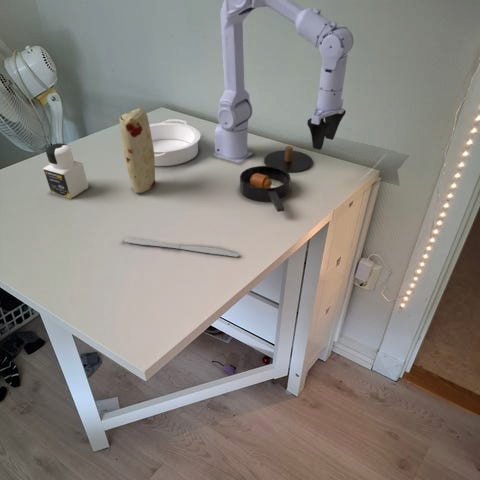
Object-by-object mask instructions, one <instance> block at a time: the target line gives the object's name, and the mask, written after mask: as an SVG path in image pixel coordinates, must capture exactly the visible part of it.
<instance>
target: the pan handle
mask: <svg viewBox="0 0 480 480" xmlns="http://www.w3.org/2000/svg"><path fill="white" fill-rule="evenodd" d="M268 195H269V197H270V199H271V201H272V202H271V203H272V205H273V207H274V209H275V210H276V212H277V213H281V212H285V211H286V210H285V209H286V208H285V205H284V204H283V202H282V200H281V199H280V198H279V197H278V195H277V193H276V191H275V190H274V191H268Z"/></svg>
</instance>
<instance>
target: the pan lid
mask: <svg viewBox="0 0 480 480" xmlns="http://www.w3.org/2000/svg"><path fill="white" fill-rule="evenodd" d="M263 163H264V166H272V167H277V168H281V169H283V170H285V171H286V172H287V173H288V174H293V173H294V174H295V173H300V172H304V171H307V170H309V169H310V168H311V167H312V165H313V159H312V157H311V156H310V155H308V154H306V153H304V152H301V151H298V150H294V146H292V145H287V146H285V148H284V149H283V150H275V151H272V152H270V153H268V154H266V155H265V156H264V159H263Z"/></svg>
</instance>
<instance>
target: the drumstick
mask: <svg viewBox="0 0 480 480" xmlns="http://www.w3.org/2000/svg"><path fill="white" fill-rule="evenodd" d="M249 184H250V186H254V187H258V188H274V187H279V186H280V185H274V184H273V183H272V179H269V177H268V176H266V175H262V174H259V173H256V174H253V175H252V176H251V178H250V181H249Z"/></svg>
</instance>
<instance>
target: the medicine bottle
mask: <svg viewBox="0 0 480 480" xmlns="http://www.w3.org/2000/svg"><path fill="white" fill-rule="evenodd" d="M45 154H46V157H47V161H48V163H49V164H48V165H45V166H44V167H43V172H44V175H45V178H46V182H47V184H48V186H49V190H50V192H51V194H55V195H57V196H61V197H63V198H68V199H70V200H71V199H73V198H74V197H77V195H79V194H81V193H83V192H84V191H86V190H87V189H88V188H89V182H88V179H87V175H86V172H85V167H84V164H83V162H81V161H77V160H75V159H74V155H73V151H72V148H71V146H70V145H68V144H66V143H62V142H60V143H58V142H57V143H53V144H51V145H49V146H47V147H46V148H45Z"/></svg>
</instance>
